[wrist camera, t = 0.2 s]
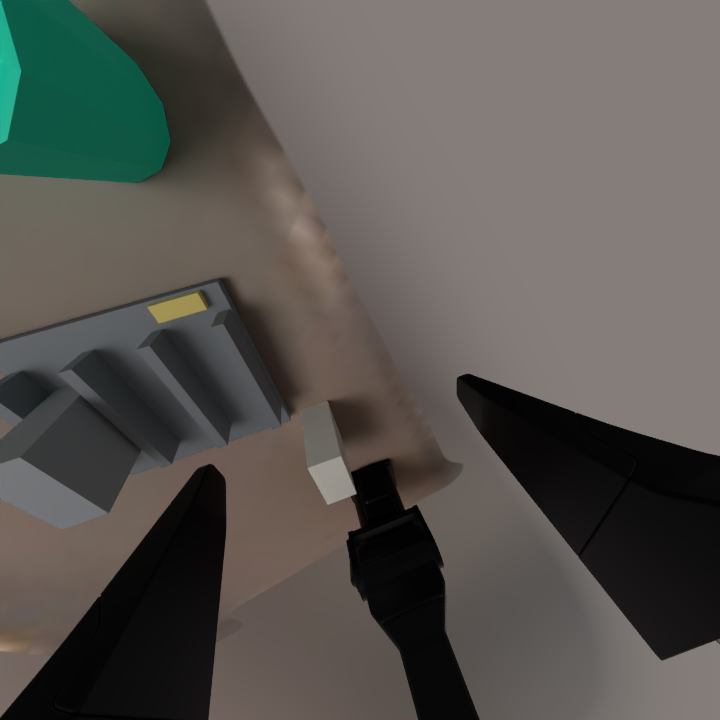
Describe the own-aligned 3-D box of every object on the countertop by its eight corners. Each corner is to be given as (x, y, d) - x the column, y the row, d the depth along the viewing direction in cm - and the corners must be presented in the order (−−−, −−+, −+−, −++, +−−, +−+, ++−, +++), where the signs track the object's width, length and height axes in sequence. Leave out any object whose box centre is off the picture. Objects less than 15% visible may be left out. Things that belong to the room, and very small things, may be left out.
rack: (290, 413, 27) (294, 485, 20) (136, 466, 25) (87, 562, 19) (219, 277, 19) (189, 324, 12) (-12, 343, 17) (-190, 436, 11)
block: (341, 437, 30) (356, 493, 25) (318, 445, 30) (328, 504, 24) (327, 400, 27) (341, 455, 21) (300, 409, 27) (307, 468, 21)
